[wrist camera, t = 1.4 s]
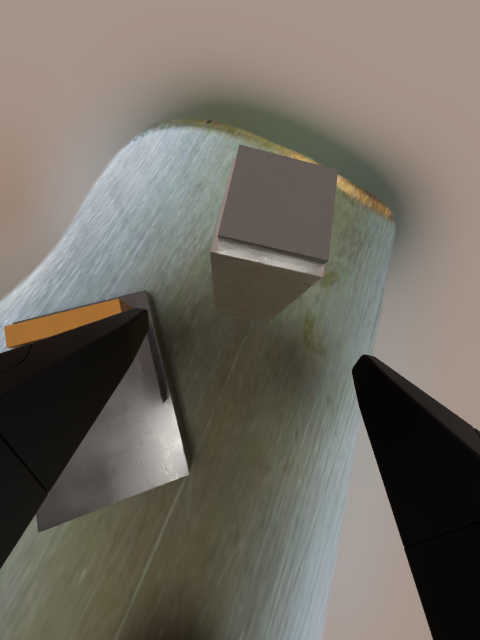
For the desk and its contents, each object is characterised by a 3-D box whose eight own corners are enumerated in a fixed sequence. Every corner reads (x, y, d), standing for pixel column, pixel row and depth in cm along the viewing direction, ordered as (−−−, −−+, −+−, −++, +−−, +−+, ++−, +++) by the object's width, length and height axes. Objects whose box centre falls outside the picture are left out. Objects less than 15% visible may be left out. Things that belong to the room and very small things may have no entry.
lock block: (267, 322, 22) (334, 267, 9) (215, 311, 22) (209, 239, 9) (275, 273, 23) (344, 166, 10) (225, 262, 23) (234, 138, 10)
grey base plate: (192, 462, 19) (184, 493, 14) (59, 513, 17) (3, 565, 13) (152, 297, 21) (134, 280, 17) (33, 326, 19) (-21, 316, 15)
